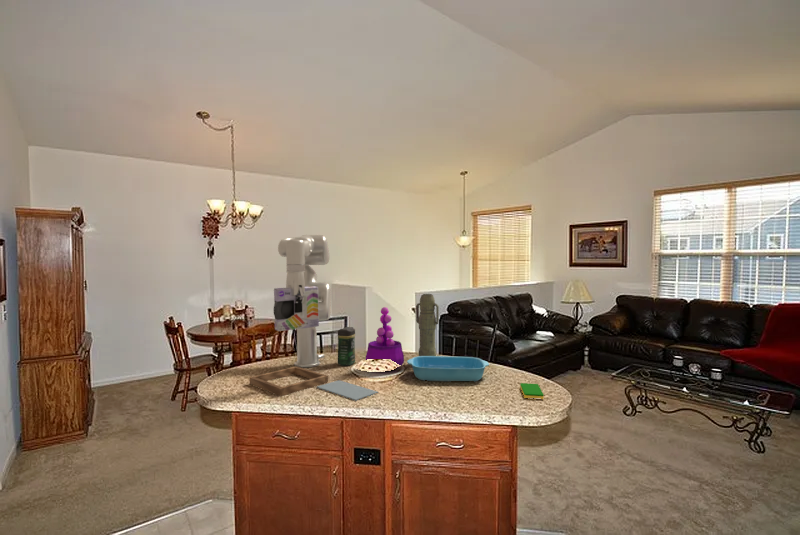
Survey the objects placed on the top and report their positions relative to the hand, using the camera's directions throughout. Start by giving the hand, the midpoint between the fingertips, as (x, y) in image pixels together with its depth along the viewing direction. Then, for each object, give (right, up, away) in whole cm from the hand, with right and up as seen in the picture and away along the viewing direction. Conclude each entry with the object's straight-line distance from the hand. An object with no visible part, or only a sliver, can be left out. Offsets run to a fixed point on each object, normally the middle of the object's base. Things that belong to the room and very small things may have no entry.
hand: (296, 311), depth 180 cm
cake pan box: (0, -8, 0) cm, 8 cm away
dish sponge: (+96, -32, -11) cm, 102 cm away
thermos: (+58, -30, +37) cm, 75 cm away
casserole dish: (+66, -31, +13) cm, 74 cm away
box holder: (-4, -31, +2) cm, 32 cm away
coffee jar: (+17, -30, +35) cm, 49 cm away
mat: (+22, -32, -7) cm, 39 cm away
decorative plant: (+37, -31, +25) cm, 54 cm away
